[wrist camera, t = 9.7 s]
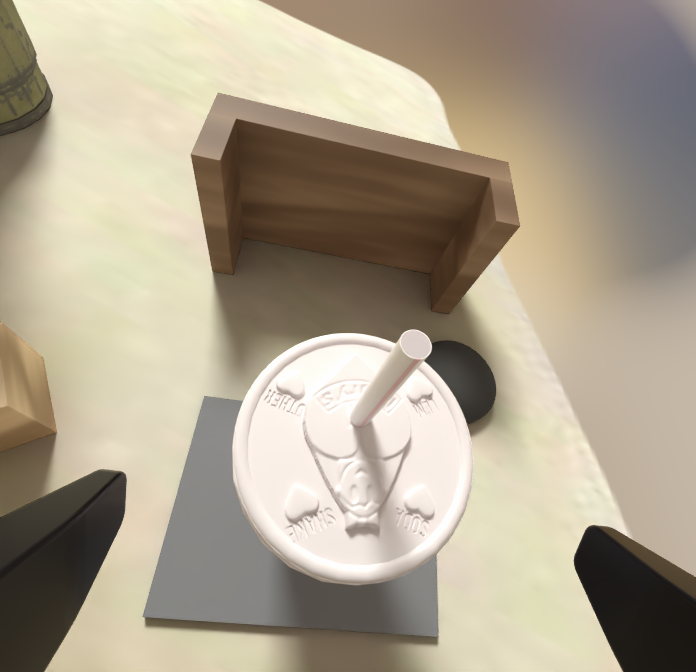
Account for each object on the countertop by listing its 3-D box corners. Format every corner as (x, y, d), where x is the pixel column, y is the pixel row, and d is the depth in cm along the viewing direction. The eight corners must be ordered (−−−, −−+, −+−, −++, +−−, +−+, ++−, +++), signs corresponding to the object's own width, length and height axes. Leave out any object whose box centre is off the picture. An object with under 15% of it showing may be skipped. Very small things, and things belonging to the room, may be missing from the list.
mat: (435, 635, 17) (438, 636, 16) (144, 615, 15) (142, 617, 15) (430, 429, 21) (432, 428, 21) (205, 397, 19) (204, 395, 19)
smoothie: (376, 422, 20) (545, 242, 8) (385, 563, 17) (674, 609, 5) (251, 418, 19) (232, 204, 7) (238, 569, 16) (162, 649, 4)
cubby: (448, 313, 25) (520, 226, 18) (212, 271, 23) (190, 154, 16) (445, 259, 27) (508, 162, 20) (230, 215, 25) (217, 92, 18)
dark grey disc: (500, 422, 22) (506, 419, 21) (419, 427, 21) (423, 424, 20) (478, 344, 24) (482, 340, 24) (403, 345, 23) (406, 340, 23)
